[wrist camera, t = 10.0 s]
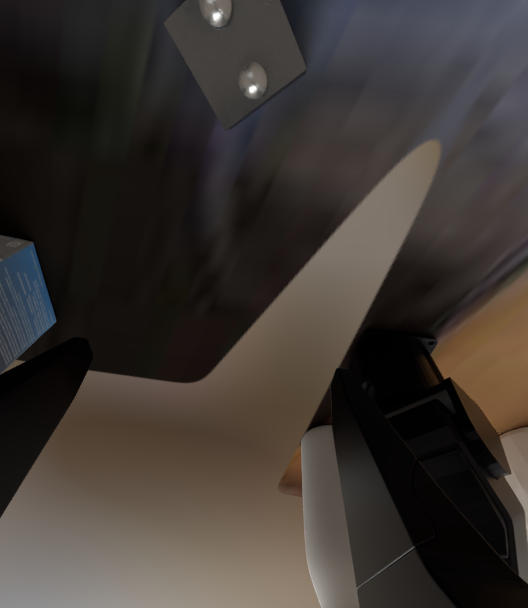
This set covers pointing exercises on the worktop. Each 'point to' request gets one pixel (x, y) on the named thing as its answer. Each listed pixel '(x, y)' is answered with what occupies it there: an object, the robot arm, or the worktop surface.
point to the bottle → (517, 464)
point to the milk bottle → (326, 522)
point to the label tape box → (21, 299)
